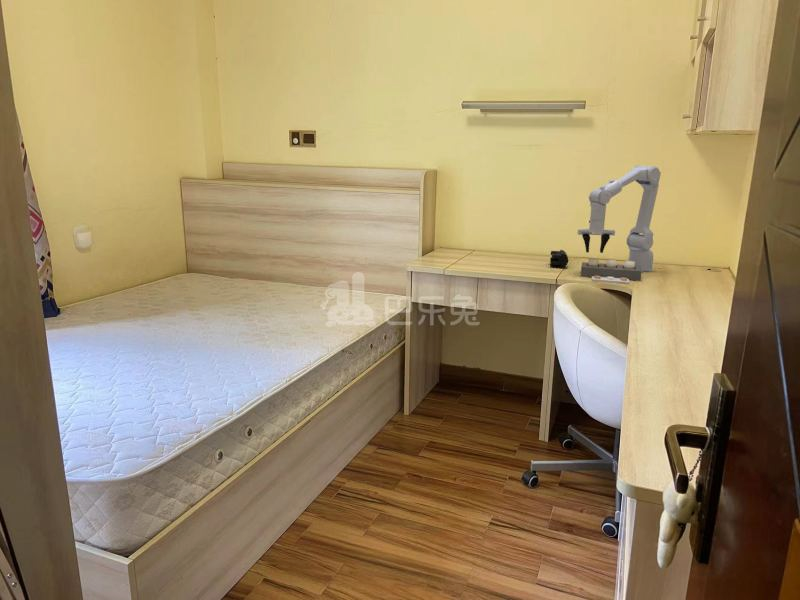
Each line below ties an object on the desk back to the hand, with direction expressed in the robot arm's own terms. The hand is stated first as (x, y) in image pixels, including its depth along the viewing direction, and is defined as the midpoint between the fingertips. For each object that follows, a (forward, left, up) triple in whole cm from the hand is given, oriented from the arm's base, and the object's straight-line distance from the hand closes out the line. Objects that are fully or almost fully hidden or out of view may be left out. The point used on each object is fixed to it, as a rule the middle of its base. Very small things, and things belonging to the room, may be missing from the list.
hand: (594, 252), depth 250 cm
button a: (-12, +7, -7) cm, 16 cm away
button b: (-6, +3, -7) cm, 10 cm away
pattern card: (-1, +12, -9) cm, 15 cm away
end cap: (+6, -19, -10) cm, 22 cm away
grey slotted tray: (-6, +3, -9) cm, 12 cm away
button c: (0, 0, -7) cm, 7 cm away
